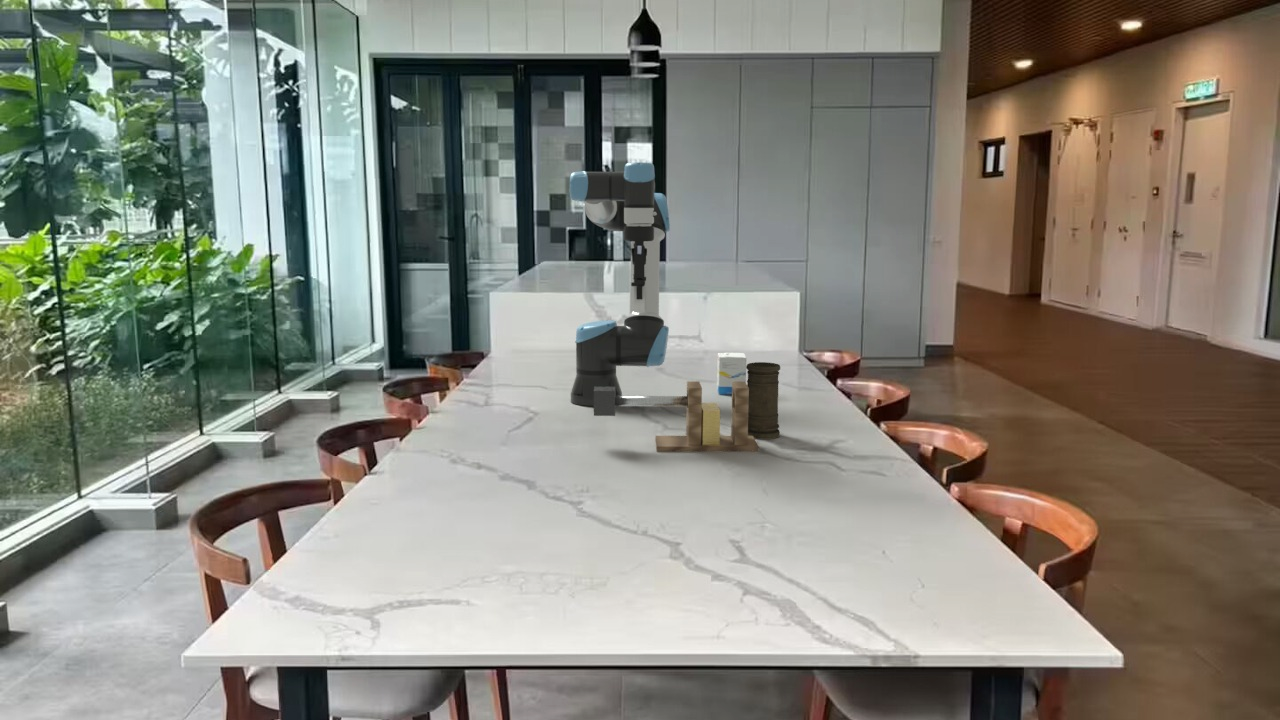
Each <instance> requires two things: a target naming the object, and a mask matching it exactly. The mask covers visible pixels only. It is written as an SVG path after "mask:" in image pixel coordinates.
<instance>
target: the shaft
mask: <svg viewBox="0 0 1280 720" xmlns="http://www.w3.org/2000/svg"><path fill="white" fill-rule="evenodd" d="M687 406H688V396H687V395H682V396H681V395H622V396H615V387H594V406H593V416H594V417H601V416H603V417H608V416H609V417H615V416H616V407H687Z"/></svg>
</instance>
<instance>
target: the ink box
mask: <svg viewBox="0 0 1280 720" xmlns="http://www.w3.org/2000/svg"><path fill="white" fill-rule="evenodd" d="M716 360H717V361H716V362H717V367H716V391H717V393H718V395H719V396H720V395H731V396H732V382H745V383H746V384H747V368H746V366H747V356H746V354H745V352H718V353H717V359H716Z"/></svg>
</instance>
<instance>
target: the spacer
mask: <svg viewBox="0 0 1280 720" xmlns="http://www.w3.org/2000/svg"><path fill="white" fill-rule="evenodd" d="M720 432H721V410H720V407H719V405H718V403H717V402H702V414H701V442H702V445H703V446H720V436H721V435H720V434H721V433H720Z"/></svg>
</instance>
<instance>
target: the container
mask: <svg viewBox="0 0 1280 720" xmlns="http://www.w3.org/2000/svg"><path fill="white" fill-rule="evenodd" d="M780 370H781V365H780V364H778V363H774V362H763V361H762V362H761V361H758V362H757V361H756V362H749V363H746V374H747V379H746V384H747V386H748V388H749V404H748V436H753V437H754V439H755V440H756V439H758V440H771V439H776V438H778V437H779V436H780V433H781V431H780V424H779V412H778V411H779V407H778V406H779V383H780V382H779V375H780Z"/></svg>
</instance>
